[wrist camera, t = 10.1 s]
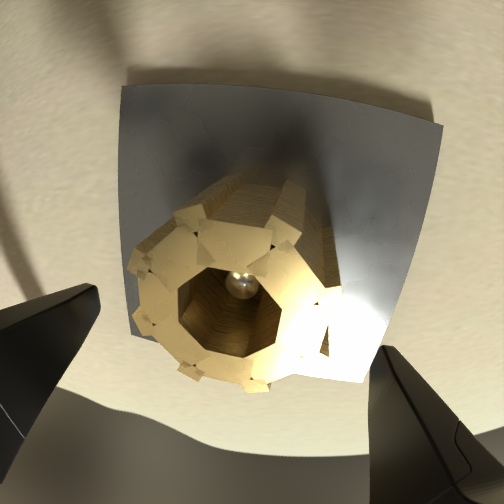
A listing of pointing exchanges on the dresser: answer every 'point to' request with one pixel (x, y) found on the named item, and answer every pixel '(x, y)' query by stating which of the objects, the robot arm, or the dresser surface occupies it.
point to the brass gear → (247, 262)
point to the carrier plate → (275, 174)
